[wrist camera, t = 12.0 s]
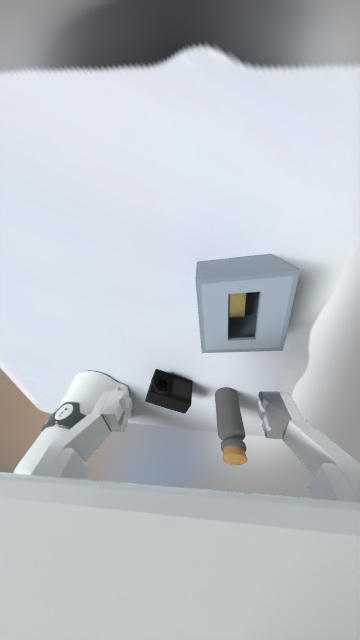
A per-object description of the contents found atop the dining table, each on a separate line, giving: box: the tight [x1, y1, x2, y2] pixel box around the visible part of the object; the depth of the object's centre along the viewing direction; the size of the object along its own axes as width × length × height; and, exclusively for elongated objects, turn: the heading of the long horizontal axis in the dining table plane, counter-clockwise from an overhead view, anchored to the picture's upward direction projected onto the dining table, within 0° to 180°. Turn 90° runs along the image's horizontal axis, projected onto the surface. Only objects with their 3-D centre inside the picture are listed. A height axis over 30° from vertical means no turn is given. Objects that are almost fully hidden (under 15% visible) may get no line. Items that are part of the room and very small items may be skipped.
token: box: [228, 293, 246, 318], centre depth 30 cm, size 4×2×6 cm, turn 8°
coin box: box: [196, 254, 300, 353], centre depth 28 cm, size 12×12×10 cm
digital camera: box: [145, 369, 192, 413], centre depth 43 cm, size 10×5×7 cm, turn 70°
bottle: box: [215, 388, 247, 465], centre depth 41 cm, size 6×6×15 cm
